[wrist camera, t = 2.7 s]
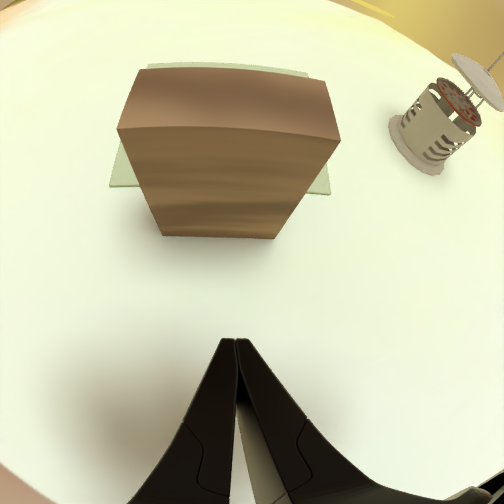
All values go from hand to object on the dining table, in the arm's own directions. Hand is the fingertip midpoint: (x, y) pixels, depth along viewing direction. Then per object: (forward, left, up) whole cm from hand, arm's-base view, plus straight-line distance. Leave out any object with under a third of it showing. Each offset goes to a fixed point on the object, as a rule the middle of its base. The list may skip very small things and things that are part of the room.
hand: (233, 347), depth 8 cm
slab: (+7, +6, -12) cm, 16 cm away
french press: (+33, -5, -13) cm, 36 cm away
